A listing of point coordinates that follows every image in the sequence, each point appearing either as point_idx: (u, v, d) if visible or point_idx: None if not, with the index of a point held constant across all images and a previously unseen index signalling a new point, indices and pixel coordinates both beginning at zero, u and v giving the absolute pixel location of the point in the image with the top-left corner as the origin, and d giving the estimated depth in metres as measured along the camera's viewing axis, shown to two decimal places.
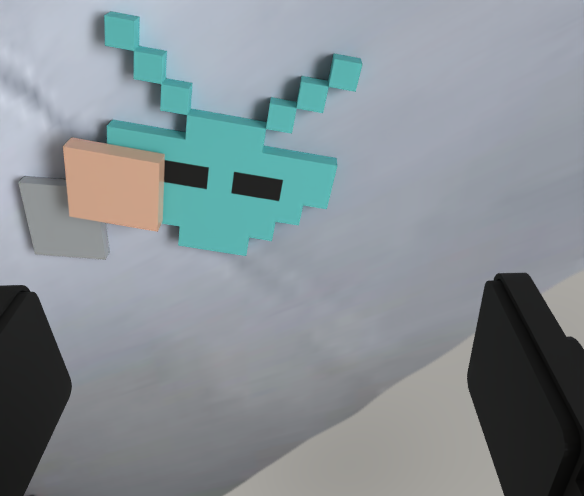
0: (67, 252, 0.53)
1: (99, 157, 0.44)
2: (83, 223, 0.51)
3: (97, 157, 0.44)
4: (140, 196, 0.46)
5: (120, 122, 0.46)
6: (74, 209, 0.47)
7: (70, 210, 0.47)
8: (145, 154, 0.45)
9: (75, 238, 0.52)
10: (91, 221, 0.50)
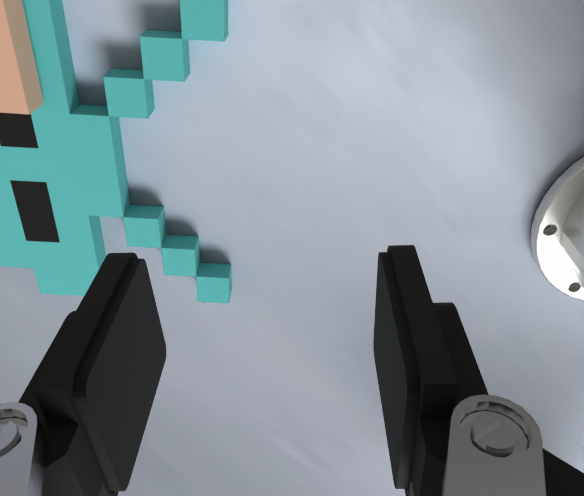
0: None
1: None
2: None
3: None
4: None
5: None
6: None
7: None
8: (32, 80, 0.28)
9: None
10: None
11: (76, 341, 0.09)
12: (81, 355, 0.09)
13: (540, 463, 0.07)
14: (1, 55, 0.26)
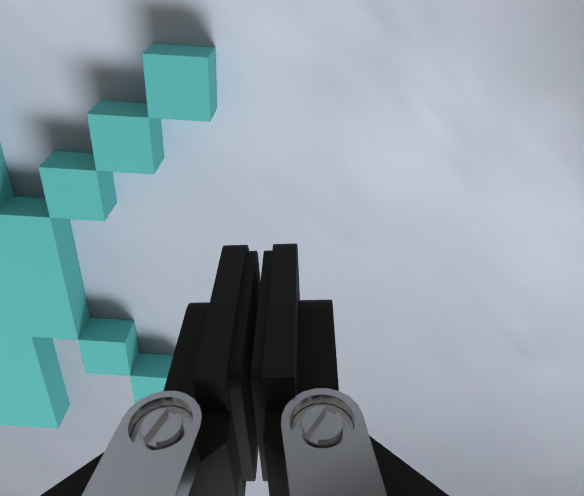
0: None
1: None
2: None
3: None
4: None
5: None
6: None
7: None
8: None
9: None
10: None
11: (220, 331, 0.09)
12: (230, 345, 0.09)
13: (367, 438, 0.07)
14: None
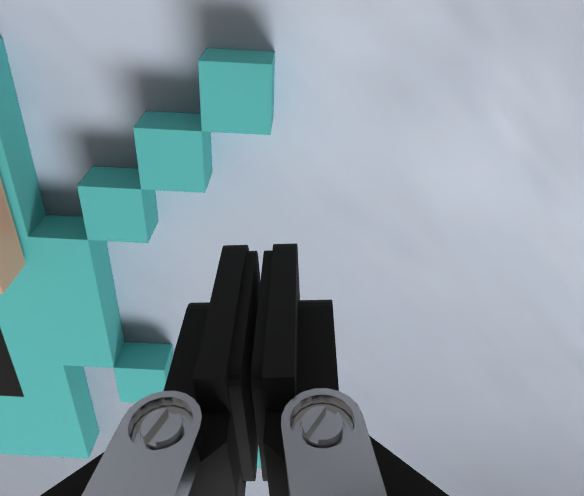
0: None
1: None
2: None
3: None
4: None
5: (3, 65, 0.17)
6: None
7: None
8: (7, 241, 0.19)
9: None
10: None
11: (220, 331, 0.09)
12: (229, 345, 0.09)
13: (367, 438, 0.07)
14: None
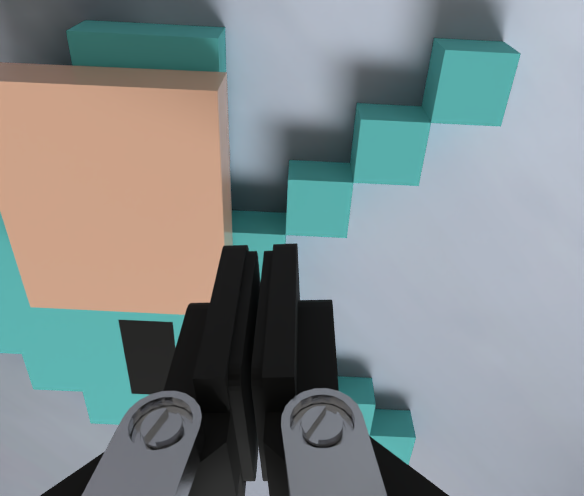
0: None
1: (207, 189, 0.16)
2: None
3: (205, 184, 0.16)
4: (118, 275, 0.18)
5: (224, 55, 0.17)
6: None
7: None
8: None
9: None
10: None
11: (220, 331, 0.09)
12: (230, 345, 0.09)
13: (367, 439, 0.07)
14: (202, 245, 0.17)
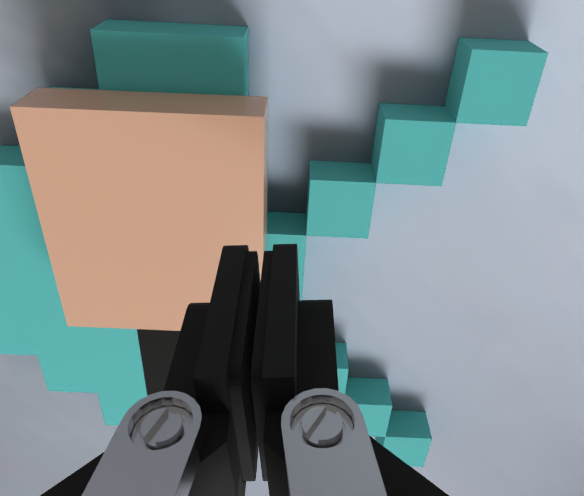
0: None
1: (249, 211, 0.16)
2: None
3: (247, 206, 0.16)
4: (157, 294, 0.18)
5: (247, 55, 0.17)
6: (45, 125, 0.15)
7: (35, 112, 0.15)
8: None
9: None
10: None
11: (220, 331, 0.09)
12: (230, 345, 0.09)
13: (367, 439, 0.07)
14: None
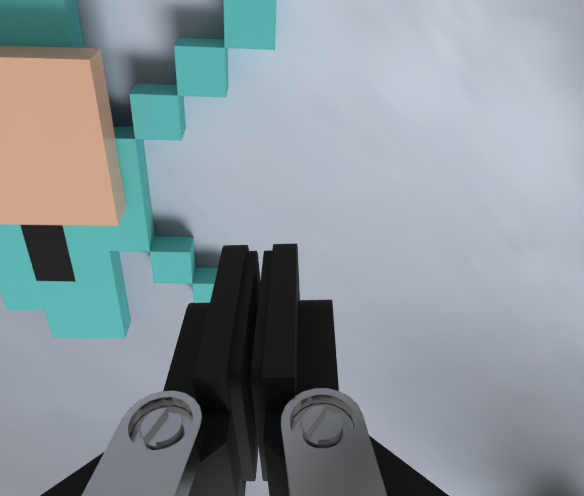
0: None
1: (91, 129, 0.23)
2: None
3: (89, 125, 0.23)
4: (35, 196, 0.25)
5: (73, 0, 0.23)
6: None
7: None
8: (119, 188, 0.26)
9: None
10: None
11: (220, 331, 0.09)
12: (230, 345, 0.09)
13: (367, 438, 0.07)
14: (93, 170, 0.24)
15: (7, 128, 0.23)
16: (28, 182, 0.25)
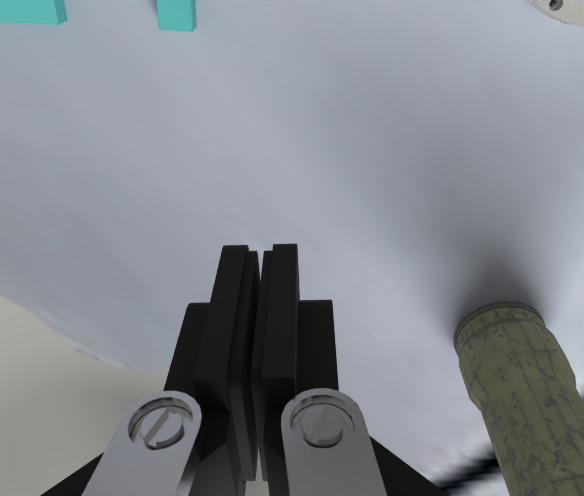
0: None
1: None
2: None
3: None
4: None
5: None
6: None
7: None
8: None
9: None
10: None
11: (220, 331, 0.09)
12: (230, 344, 0.09)
13: (367, 438, 0.07)
14: None
15: None
16: None
